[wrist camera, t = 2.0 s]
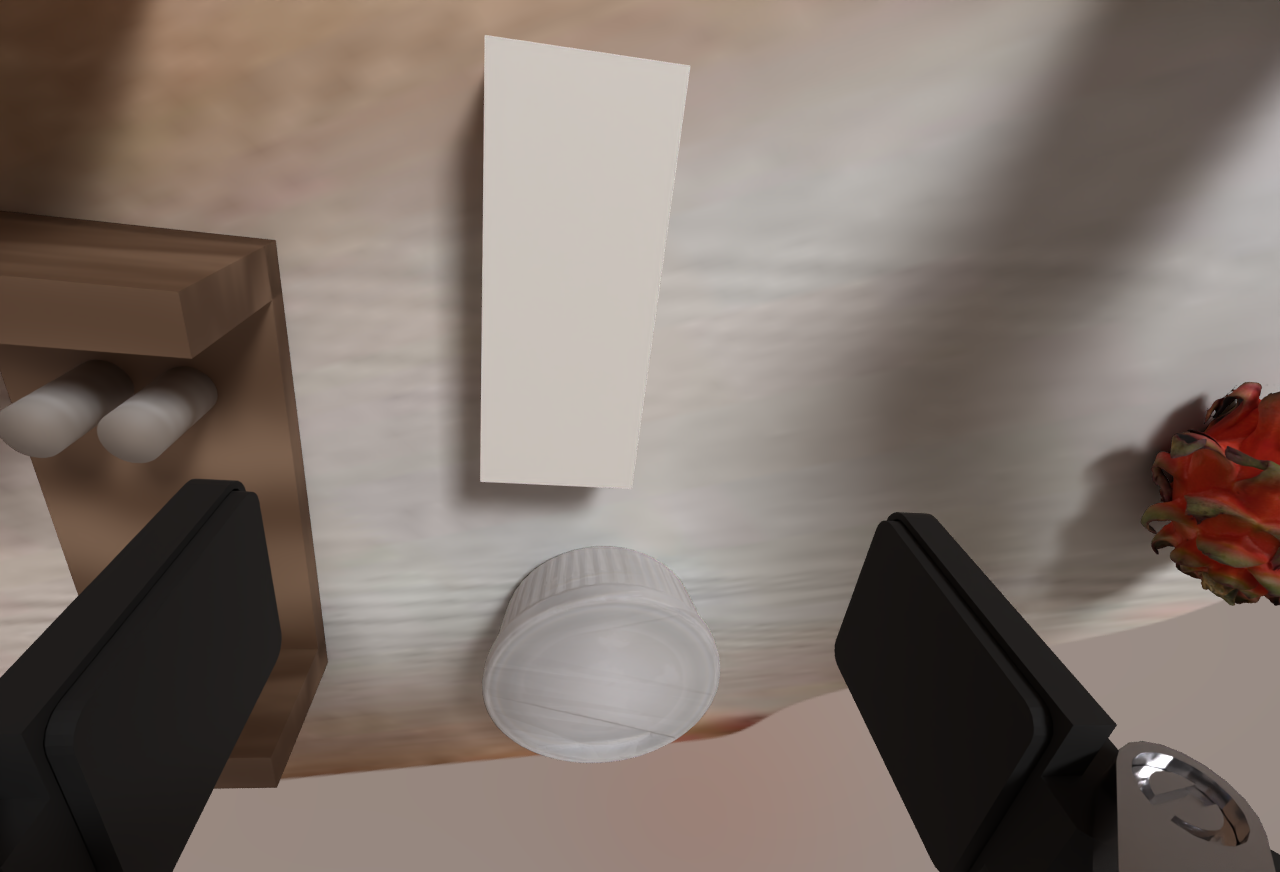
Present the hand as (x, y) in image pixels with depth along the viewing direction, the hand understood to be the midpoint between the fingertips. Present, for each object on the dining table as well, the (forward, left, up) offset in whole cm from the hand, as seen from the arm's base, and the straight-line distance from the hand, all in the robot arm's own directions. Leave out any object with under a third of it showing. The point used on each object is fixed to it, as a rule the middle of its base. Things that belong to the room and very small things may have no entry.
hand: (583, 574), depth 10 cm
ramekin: (+18, +3, -19) cm, 26 cm away
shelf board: (0, 0, -19) cm, 19 cm away
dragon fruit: (+6, +33, -19) cm, 38 cm away
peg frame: (+11, -16, -18) cm, 27 cm away
